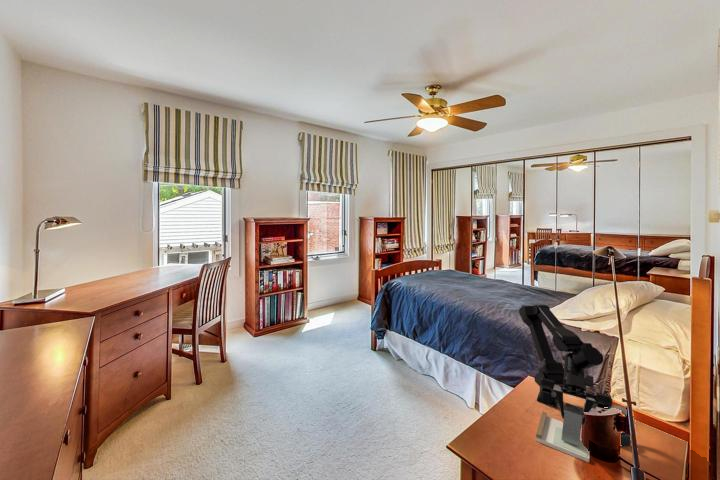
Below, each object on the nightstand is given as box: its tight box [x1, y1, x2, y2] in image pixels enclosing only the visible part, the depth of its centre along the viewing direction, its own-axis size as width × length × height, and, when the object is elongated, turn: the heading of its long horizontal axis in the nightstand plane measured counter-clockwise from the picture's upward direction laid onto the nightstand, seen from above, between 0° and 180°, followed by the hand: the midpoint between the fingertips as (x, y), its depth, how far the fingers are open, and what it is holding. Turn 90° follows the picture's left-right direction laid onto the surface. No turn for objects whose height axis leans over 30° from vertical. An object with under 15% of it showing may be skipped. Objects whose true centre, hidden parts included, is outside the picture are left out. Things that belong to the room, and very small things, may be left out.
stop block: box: [561, 402, 584, 447], centre depth 96 cm, size 4×4×10 cm
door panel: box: [535, 411, 591, 463], centre depth 100 cm, size 14×14×2 cm
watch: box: [611, 404, 636, 447], centre depth 99 cm, size 6×8×11 cm
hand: (572, 421), depth 95 cm, fingers closed on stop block, 5 cm apart
